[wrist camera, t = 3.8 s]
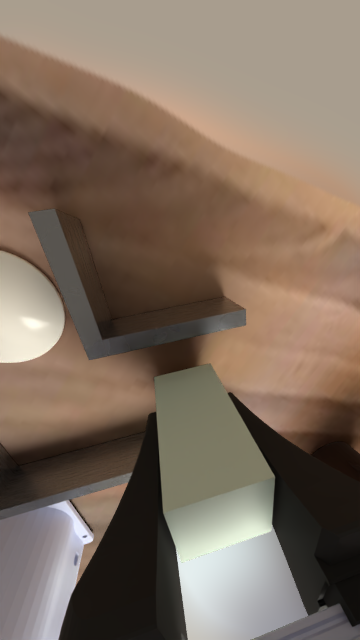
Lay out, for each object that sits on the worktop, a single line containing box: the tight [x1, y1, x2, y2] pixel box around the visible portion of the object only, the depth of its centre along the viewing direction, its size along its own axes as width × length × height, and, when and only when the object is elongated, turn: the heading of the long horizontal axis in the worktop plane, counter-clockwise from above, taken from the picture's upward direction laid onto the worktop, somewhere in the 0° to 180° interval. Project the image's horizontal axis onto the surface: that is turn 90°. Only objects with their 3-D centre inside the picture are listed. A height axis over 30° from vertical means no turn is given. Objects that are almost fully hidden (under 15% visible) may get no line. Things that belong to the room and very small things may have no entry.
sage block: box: [154, 364, 275, 563], centre depth 10 cm, size 4×4×7 cm
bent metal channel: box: [0, 209, 246, 520], centre depth 12 cm, size 18×20×3 cm
